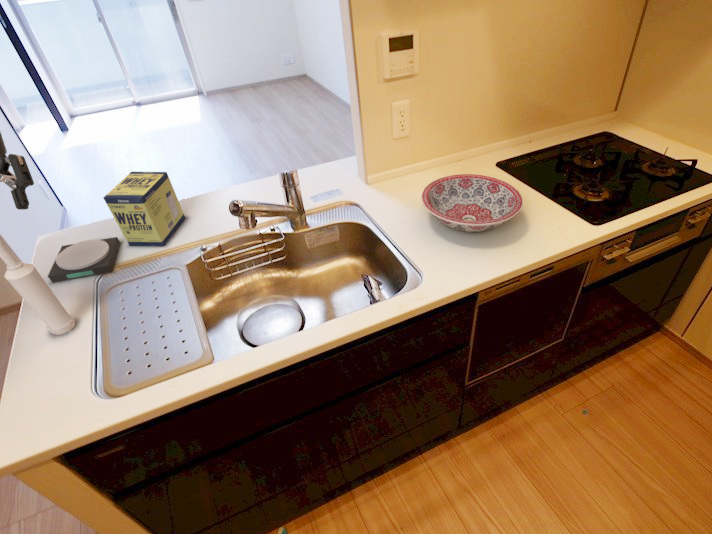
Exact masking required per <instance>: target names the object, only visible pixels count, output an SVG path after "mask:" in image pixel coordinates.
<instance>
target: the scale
mask: <svg viewBox="0 0 712 534" xmlns="http://www.w3.org/2000/svg"><path fill="white" fill-rule="evenodd" d="M120 246H121V242H120V239H119V238H118V236H115V237H108V238H103V239H88V240H82V241H79V242H77V243H76V242H75V243H72V244H65V245H61V247H60V250H59V251H58V254H57V256H56V258H55V260H54V262H53V264H52V266H51V268H50V270H49V273H48V275H47V277H48V279H49V281H50V282H51V283H52V284H53V283H59V282H66V281H69V280H75V279H76V280H77V279H80V278H87V277H93V276H97V275H103V274H109V273H112V272H113V269H114V267H115V263H116V259H117V256H118V253H119V249H120Z"/></svg>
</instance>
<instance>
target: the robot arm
mask: <svg viewBox="0 0 712 534" xmlns="http://www.w3.org/2000/svg"><path fill="white" fill-rule="evenodd" d="M6 154H7V148H6V145H5V142H4V139H3V135H2V133H1V131H0V183H3V184H5V185H6V186H7V187H9V188H10V189H11V190H10V193H11V196H12V199H13V202H14V206H15V208H16V209H17V210H22V211H23V210H28V209H29V206H30V202H29V198H28V196H27V193H26V190H27V188H28V187H31V186H34V184H35V182H34V179H33V177H32V174H31V171H30V169H29V166H28V164H27V161H26V158H25V157H24V156H23V155H19V154H15V153H9V154H8V156H7V155H6ZM10 167H11V168H12V170H13V173H12V171H10Z"/></svg>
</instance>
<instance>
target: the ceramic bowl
mask: <svg viewBox="0 0 712 534" xmlns="http://www.w3.org/2000/svg"><path fill="white" fill-rule="evenodd" d="M421 203H422V205H423V207H424V208H425V209H426V211H428V212H429V213H430V214H431V215H433V216H434V217H435V218H436V219H437V220H438V221H439V222H440V223H442V224H443V225H445V226H446V227H448V228H450V229H453V230H456V231H459V232H466V233H477V232H478V233H481V232H486V231H490V230H493V229H494V228H497V227H500V226H501V225H503V224H504V223H505V222H507V221H509V220H511V219H513V218H514V217H516V216H517V215H518V214H519V213H520V212H521V210H522V208H523V203H524V202H523V197H522V195H521V193H520V192H519V190H517V188H515V186H513V185H511V184H510V183H508V182H506V181H504V180H501V179H498V178H495V177H492V176H488V175H482V174H471V173H468V174H467V173H462V174H461V173H460V174H452V175H448V176H443V177H440V178H438V179H435V180H433V181H432V182H430V183H429V184H428V185H426V186H425V188H424V189H423V191H422V192H421ZM466 219H473V220H466Z"/></svg>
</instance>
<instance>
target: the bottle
mask: <svg viewBox="0 0 712 534" xmlns="http://www.w3.org/2000/svg"><path fill="white" fill-rule="evenodd" d="M0 258H1V260H2V261H3V263H5V265H6V267H5V268H6V271H5V273H4V276H3V277H4V279H6V281H7V282H8V283H9V284H10V285H11V286H12V288H13V289H14V290H15V292H16V293H18V295H19V296H20V297H21V298H22V300H24V301H25V302H26V304H27V305H28V306H29V307H30V309H32V310H33V312H34V313H35V314H36V316H38V317H39V318H40V320H41V321H42V322H43V323H44V325H46V329H47V330H48V331H49V332H50V333H51V334H53V335H55V336H61V335H64V334H67V333H69V332H71V331H72V330H73V329H74V328H75V326H76V320H75V319H74V316H72V315H71V314H69V312H68V311H67V310H66V308H65V307H64V305H63V304H62V303H61V301H60V300H59V299H58V297H57V296H56V295H55V293H54V291H52V289H51V288H50V286H49V285H48V284H47V282H46V281H45V279H44V278H43V277H42V275H41V274H40V272H39V270H38V269H37V268H36V267H35V265H33V264H31V263H25V262H22V261H21V260H18V259H17V257H16V256H15V254H14V253H13V252H12V251H11V250H10V249H9V246H7V245H6V242H5V241H4V240H3V239H2V237H0Z"/></svg>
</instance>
